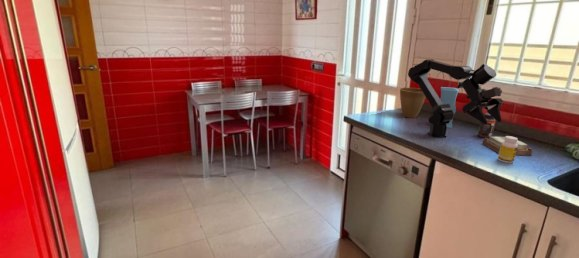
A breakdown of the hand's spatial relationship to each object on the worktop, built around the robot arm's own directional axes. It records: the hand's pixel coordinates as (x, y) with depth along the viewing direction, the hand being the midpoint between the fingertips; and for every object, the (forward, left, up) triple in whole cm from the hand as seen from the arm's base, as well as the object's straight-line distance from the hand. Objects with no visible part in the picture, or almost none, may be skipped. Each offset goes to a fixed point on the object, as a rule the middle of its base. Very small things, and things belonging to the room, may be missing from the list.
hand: (493, 122), depth 129 cm
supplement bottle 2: (+3, -7, -14) cm, 16 cm away
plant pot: (-11, +58, -14) cm, 60 cm away
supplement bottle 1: (+13, +23, -14) cm, 30 cm away
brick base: (+12, +6, -13) cm, 19 cm away
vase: (+1, +41, -14) cm, 43 cm away
